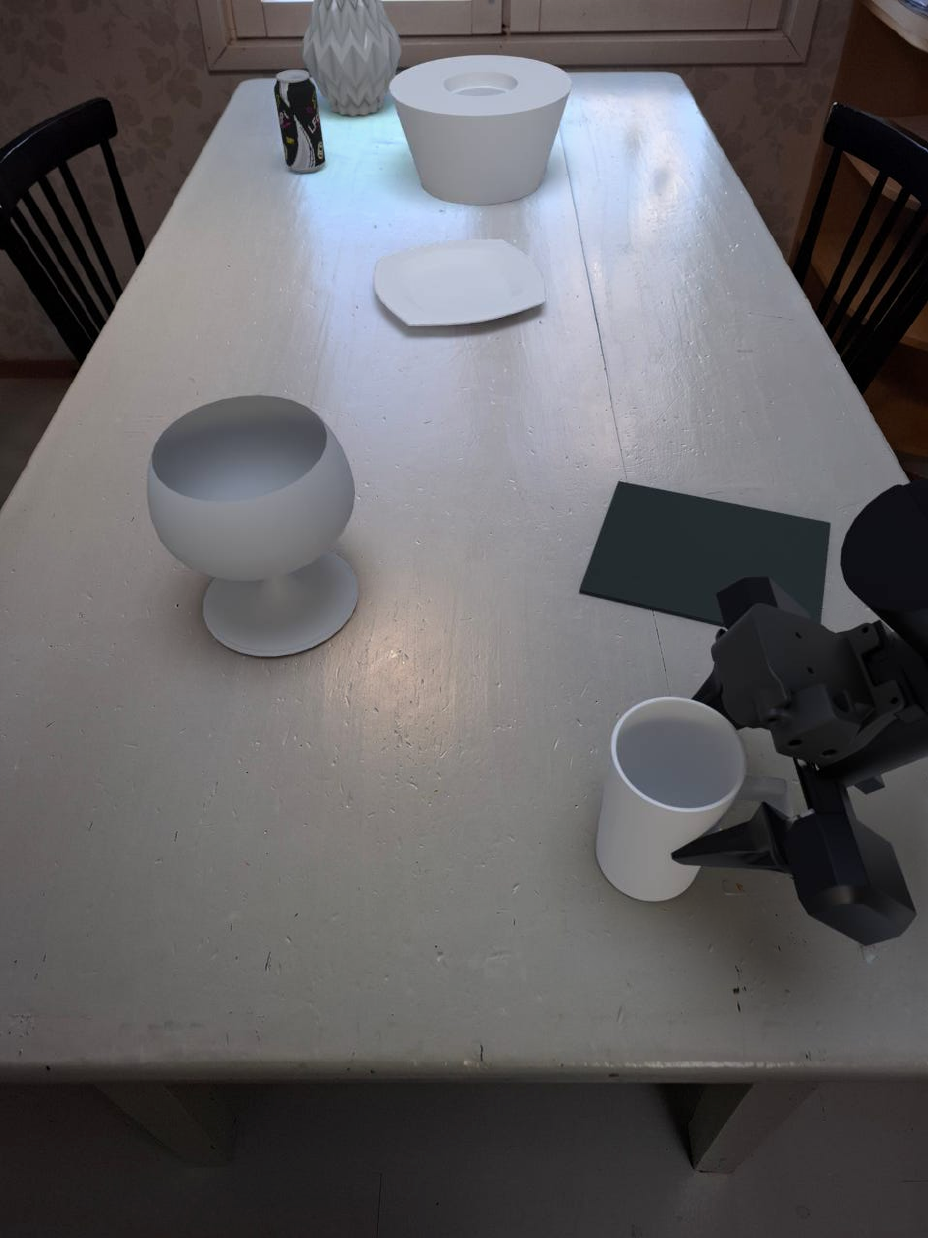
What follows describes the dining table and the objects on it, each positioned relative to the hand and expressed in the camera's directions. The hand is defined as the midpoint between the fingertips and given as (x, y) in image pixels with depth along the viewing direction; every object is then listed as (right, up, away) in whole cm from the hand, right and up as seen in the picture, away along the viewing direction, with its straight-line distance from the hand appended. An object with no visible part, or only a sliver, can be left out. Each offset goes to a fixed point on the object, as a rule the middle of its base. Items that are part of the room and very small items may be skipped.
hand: (665, 801), depth 47 cm
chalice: (-26, +11, +20) cm, 35 cm away
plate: (-12, +48, +52) cm, 72 cm away
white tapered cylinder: (-9, +72, +74) cm, 104 cm away
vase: (-29, +95, +94) cm, 137 cm away
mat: (+9, +15, +22) cm, 28 cm away
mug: (+2, -5, +5) cm, 7 cm away
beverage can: (-34, +76, +78) cm, 114 cm away
